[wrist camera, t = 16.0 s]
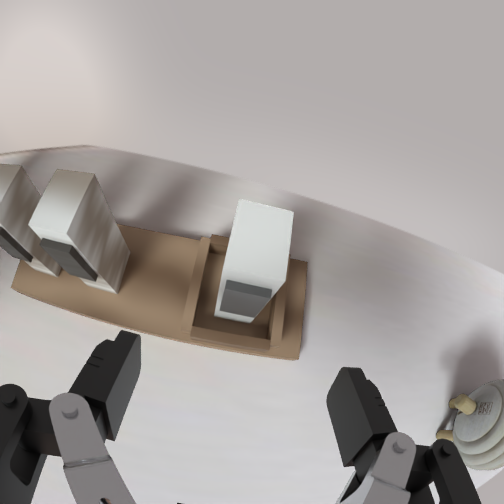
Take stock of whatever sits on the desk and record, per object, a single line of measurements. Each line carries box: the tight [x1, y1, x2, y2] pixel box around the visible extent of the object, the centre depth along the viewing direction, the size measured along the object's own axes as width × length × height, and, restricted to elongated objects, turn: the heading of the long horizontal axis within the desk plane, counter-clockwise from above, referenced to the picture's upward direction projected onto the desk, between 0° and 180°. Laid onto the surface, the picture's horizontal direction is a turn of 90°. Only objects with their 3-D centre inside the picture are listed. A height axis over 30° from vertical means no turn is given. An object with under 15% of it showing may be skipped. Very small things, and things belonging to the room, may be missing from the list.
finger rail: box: [0, 164, 308, 360], centre depth 19 cm, size 9×28×12 cm, turn 82°
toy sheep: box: [436, 379, 504, 470], centre depth 18 cm, size 11×17×11 cm, turn 61°
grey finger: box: [214, 199, 294, 324], centre depth 19 cm, size 4×3×11 cm, turn 170°
